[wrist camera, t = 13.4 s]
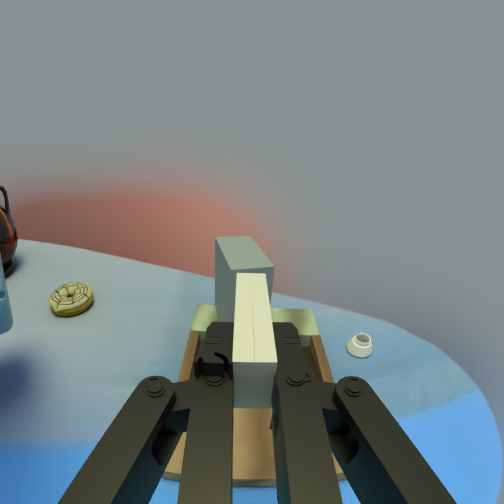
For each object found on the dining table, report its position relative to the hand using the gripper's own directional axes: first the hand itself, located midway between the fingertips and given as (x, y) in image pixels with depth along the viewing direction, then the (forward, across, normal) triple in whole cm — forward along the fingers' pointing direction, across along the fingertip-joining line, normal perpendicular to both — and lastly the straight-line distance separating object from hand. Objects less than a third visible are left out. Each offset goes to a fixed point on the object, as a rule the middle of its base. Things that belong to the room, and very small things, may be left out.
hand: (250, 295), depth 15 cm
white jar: (+24, +21, -26) cm, 41 cm away
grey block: (+27, -1, -22) cm, 35 cm away
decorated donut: (+32, -38, -25) cm, 56 cm away
